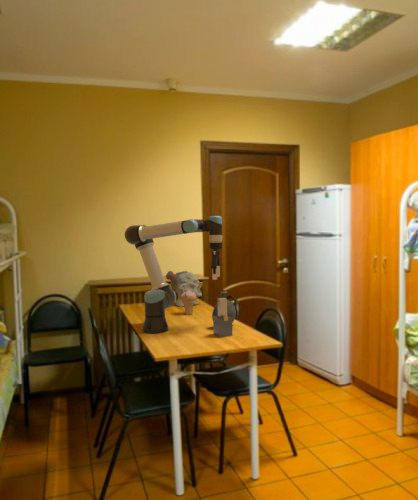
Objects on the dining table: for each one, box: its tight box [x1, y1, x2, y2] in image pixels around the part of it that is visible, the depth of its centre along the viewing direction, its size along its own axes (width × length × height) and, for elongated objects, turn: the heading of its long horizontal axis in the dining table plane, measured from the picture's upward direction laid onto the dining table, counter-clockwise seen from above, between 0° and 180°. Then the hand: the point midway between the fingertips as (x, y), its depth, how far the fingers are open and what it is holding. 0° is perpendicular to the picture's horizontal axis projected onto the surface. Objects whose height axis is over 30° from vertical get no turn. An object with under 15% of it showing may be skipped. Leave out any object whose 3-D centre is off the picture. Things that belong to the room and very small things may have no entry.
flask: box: [211, 291, 237, 324], centre depth 265 cm, size 12×17×22 cm
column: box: [217, 297, 228, 318], centre depth 245 cm, size 4×4×20 cm
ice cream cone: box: [181, 286, 198, 316], centre depth 309 cm, size 11×11×20 cm
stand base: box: [212, 315, 233, 338], centre depth 246 cm, size 16×16×12 cm
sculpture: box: [165, 270, 203, 308], centre depth 345 cm, size 20×25×30 cm
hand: (216, 278), depth 264 cm, fingers open, 13 cm apart
